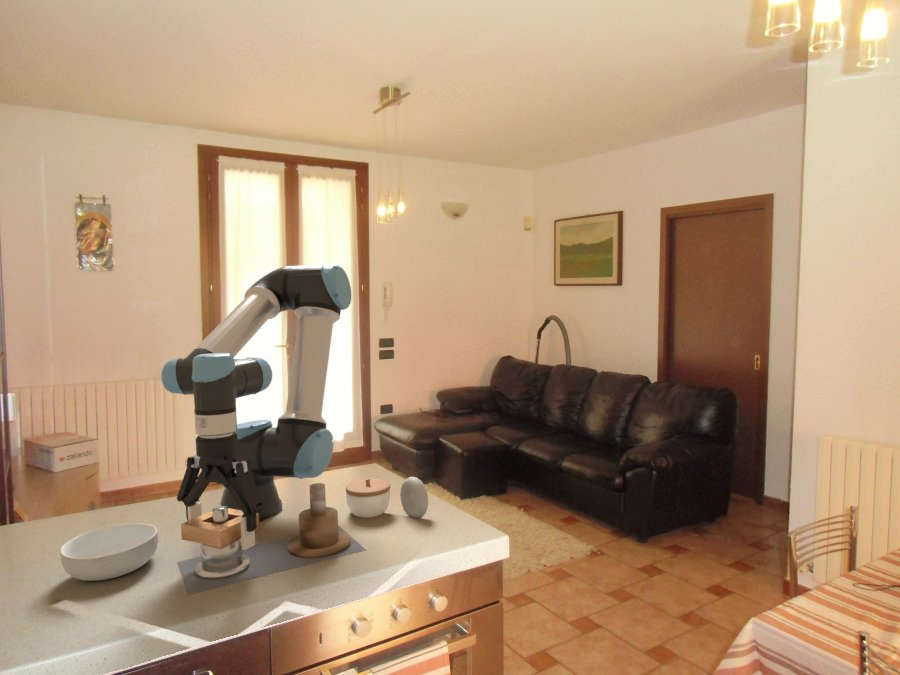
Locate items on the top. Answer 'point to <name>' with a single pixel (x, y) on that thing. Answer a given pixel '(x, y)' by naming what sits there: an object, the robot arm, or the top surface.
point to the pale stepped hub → (221, 554)
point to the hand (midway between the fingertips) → (221, 542)
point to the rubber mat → (258, 564)
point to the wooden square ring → (214, 529)
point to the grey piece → (414, 497)
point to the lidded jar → (368, 497)
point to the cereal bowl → (109, 551)
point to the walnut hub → (318, 529)
